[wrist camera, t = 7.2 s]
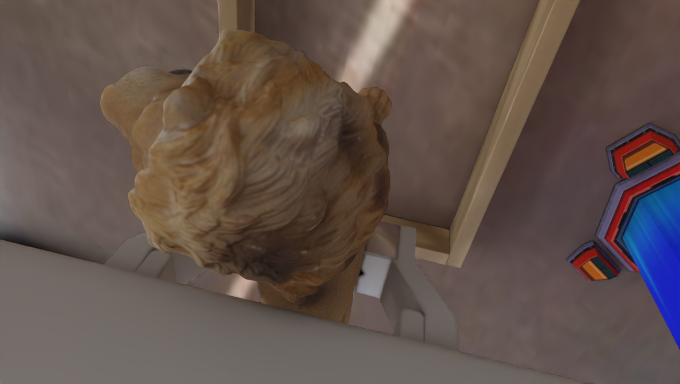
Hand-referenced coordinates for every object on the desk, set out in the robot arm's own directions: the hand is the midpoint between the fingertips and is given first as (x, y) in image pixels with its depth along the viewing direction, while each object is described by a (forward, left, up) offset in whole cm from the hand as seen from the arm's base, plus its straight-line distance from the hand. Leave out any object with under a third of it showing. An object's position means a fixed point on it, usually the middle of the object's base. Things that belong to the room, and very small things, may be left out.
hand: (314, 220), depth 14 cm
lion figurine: (-1, 0, -3) cm, 3 cm away
